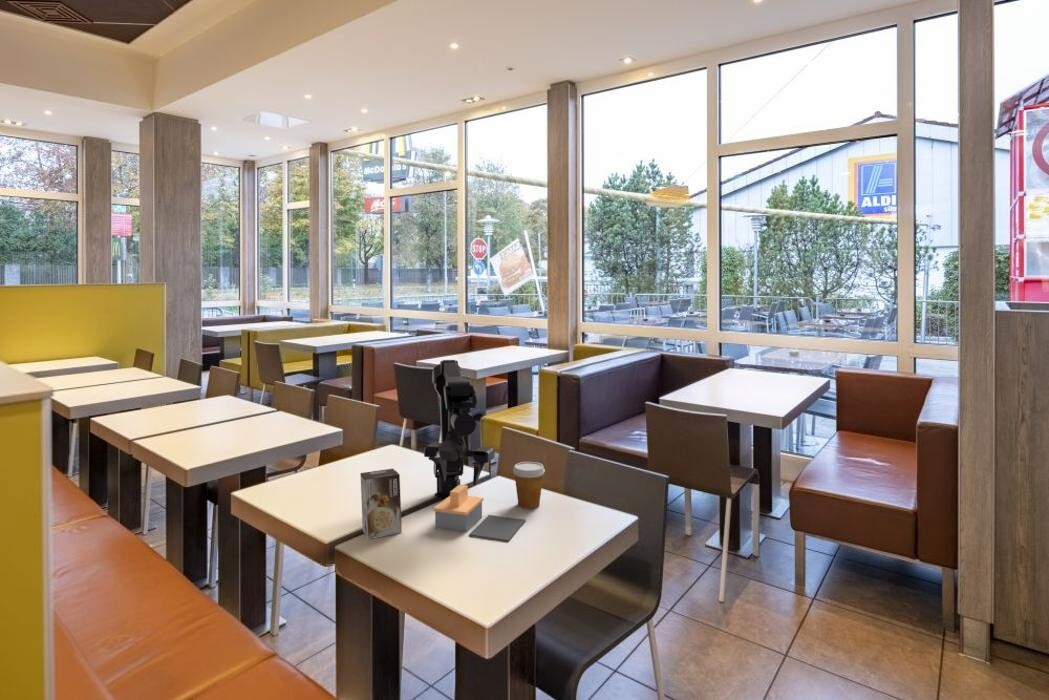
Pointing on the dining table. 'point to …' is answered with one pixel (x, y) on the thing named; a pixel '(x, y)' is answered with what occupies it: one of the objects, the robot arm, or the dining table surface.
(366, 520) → the coffee box
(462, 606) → the dining table surface
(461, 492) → the lid
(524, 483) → the disposable coffee cup
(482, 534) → the mat
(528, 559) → the dining table surface
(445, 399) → the robot arm
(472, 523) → the tub
